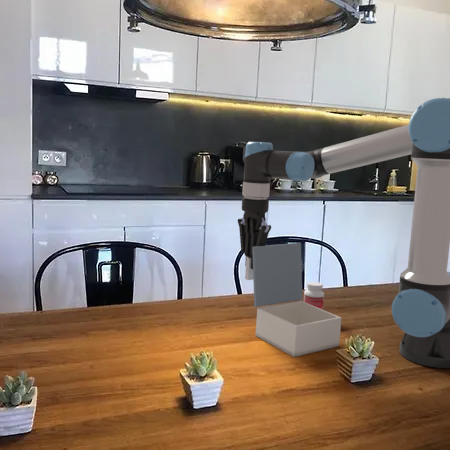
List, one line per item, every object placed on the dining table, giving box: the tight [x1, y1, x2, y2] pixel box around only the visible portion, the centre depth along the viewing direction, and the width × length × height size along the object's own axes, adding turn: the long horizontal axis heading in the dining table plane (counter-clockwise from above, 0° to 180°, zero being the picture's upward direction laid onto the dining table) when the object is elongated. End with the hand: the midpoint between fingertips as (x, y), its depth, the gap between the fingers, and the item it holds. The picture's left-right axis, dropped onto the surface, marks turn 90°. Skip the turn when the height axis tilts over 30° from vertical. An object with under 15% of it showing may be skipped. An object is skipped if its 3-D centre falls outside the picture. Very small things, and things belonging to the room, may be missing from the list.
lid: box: [252, 242, 303, 308], centre depth 151 cm, size 16×17×2 cm
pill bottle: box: [302, 281, 325, 310], centre depth 163 cm, size 6×6×11 cm
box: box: [255, 300, 342, 358], centre depth 144 cm, size 16×16×8 cm
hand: (250, 278), depth 153 cm, fingers closed
